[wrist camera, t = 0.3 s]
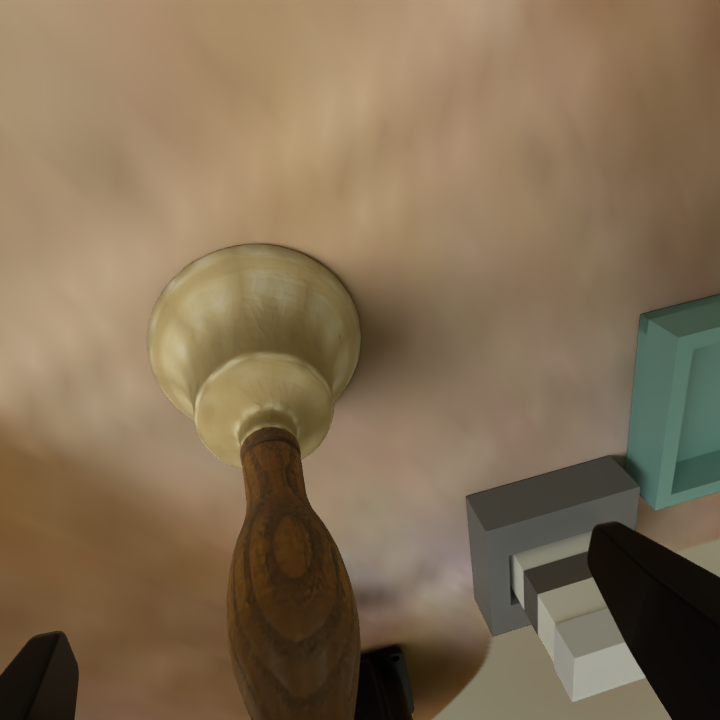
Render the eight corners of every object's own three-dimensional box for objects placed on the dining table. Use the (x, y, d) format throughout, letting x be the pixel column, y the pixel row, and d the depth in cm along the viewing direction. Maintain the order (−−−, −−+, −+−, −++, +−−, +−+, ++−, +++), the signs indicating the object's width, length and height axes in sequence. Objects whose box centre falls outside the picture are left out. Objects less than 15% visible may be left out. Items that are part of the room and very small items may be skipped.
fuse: (580, 537, 32) (679, 666, 26) (495, 563, 32) (572, 702, 25) (582, 495, 31) (688, 621, 24) (493, 522, 30) (574, 658, 23)
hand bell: (97, 336, 21) (-126, 859, 7) (271, 196, 20) (389, 495, 6) (246, 464, 25) (280, 954, 11) (397, 352, 24) (632, 741, 10)
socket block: (601, 559, 34) (627, 594, 32) (474, 598, 33) (492, 636, 31) (609, 455, 30) (640, 486, 28) (465, 496, 29) (485, 531, 27)
